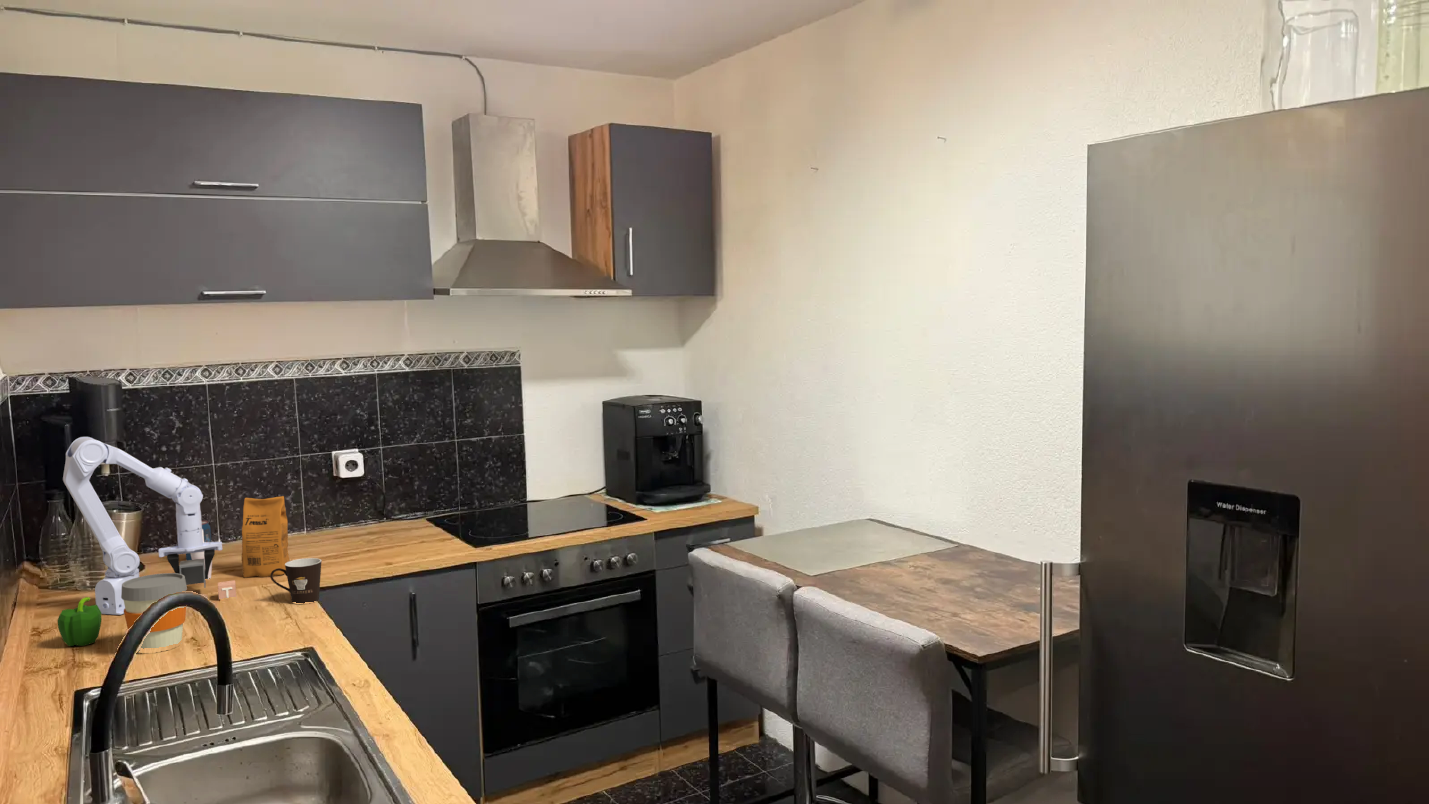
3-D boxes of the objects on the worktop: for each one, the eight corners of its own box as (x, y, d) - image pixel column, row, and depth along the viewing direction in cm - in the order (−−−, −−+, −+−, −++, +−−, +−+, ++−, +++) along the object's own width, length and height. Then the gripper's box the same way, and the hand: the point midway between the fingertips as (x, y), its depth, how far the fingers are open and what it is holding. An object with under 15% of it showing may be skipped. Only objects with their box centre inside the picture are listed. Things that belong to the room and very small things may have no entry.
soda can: (189, 560, 286) (186, 521, 285) (214, 558, 289) (212, 519, 287) (184, 565, 280) (181, 525, 279) (210, 563, 282) (207, 523, 281)
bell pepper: (72, 652, 208) (69, 607, 207) (52, 646, 212) (49, 602, 211) (112, 640, 215) (109, 597, 214) (92, 635, 219) (89, 592, 218)
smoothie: (205, 582, 262) (201, 532, 260) (185, 581, 263) (181, 531, 262) (221, 576, 268) (218, 527, 267) (201, 575, 269) (198, 526, 268)
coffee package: (250, 569, 275) (245, 494, 273) (295, 567, 276) (290, 493, 274) (236, 579, 265) (232, 501, 263) (283, 577, 266) (278, 499, 264)
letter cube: (236, 599, 246) (235, 584, 245) (219, 601, 244) (218, 586, 243) (235, 595, 249) (234, 580, 249) (218, 597, 247) (217, 582, 247)
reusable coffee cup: (111, 655, 205) (106, 588, 204) (153, 636, 217) (148, 572, 216) (164, 657, 203) (159, 589, 202) (203, 638, 216) (199, 573, 214)
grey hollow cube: (205, 587, 249) (203, 563, 248) (181, 590, 246) (179, 566, 245) (205, 582, 253) (204, 558, 253) (181, 585, 251) (179, 561, 250)
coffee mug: (330, 596, 246) (328, 559, 245) (308, 606, 238) (306, 567, 237) (293, 594, 249) (290, 556, 248) (269, 603, 241) (267, 565, 240)
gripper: (156, 535, 241) (160, 587, 243) (220, 528, 248) (224, 579, 249) (158, 530, 248) (161, 581, 249) (220, 523, 254) (223, 573, 256)
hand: (193, 580), depth 250 cm, fingers closed on grey hollow cube, 6 cm apart
